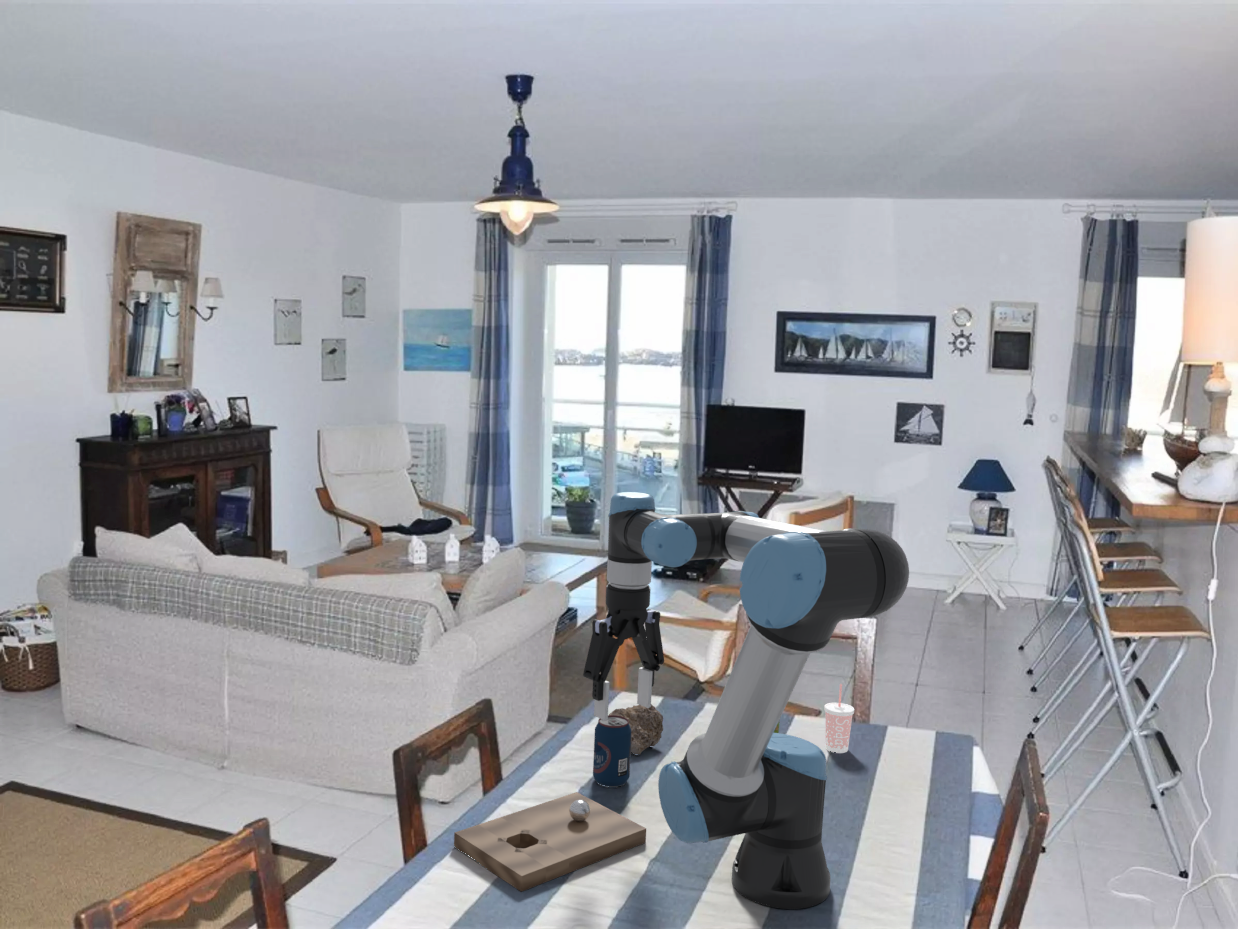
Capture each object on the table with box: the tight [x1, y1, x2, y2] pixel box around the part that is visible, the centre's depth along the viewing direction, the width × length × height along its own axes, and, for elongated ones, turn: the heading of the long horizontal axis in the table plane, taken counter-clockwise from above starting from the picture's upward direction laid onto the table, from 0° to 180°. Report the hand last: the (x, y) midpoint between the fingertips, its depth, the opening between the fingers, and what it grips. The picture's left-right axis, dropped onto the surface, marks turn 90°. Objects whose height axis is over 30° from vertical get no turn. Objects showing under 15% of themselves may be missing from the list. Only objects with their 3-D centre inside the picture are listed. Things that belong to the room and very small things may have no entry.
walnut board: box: [453, 791, 647, 893], centre depth 178 cm, size 18×26×2 cm
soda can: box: [592, 714, 632, 788], centre depth 204 cm, size 7×7×12 cm
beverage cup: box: [823, 683, 855, 754], centre depth 225 cm, size 6×6×14 cm
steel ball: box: [569, 800, 590, 822], centre depth 182 cm, size 4×4×4 cm
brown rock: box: [608, 703, 664, 755], centre depth 222 cm, size 14×9×10 cm, turn 123°
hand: (622, 711), depth 186 cm, fingers open, 9 cm apart
